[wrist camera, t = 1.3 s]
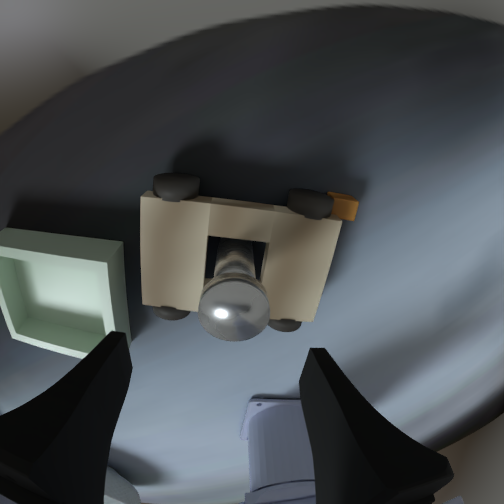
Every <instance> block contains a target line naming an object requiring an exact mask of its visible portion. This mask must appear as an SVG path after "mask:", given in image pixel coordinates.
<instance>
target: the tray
mask: <svg viewBox="0 0 504 504" xmlns="http://www.w3.org/2000/svg"><path fill="white" fill-rule="evenodd" d="M0 306H1V309H2V312H3V314H4V317H5V320H6V323H7V326H8V328H9V331H10V333H11V336H12V338H14V339H17V340H19V341H22V342H26V343H29V344H32V345H35V346H38V347H41V348H45V349H48V350H52V351H55V352H59V353H62V354H66V355H70V356H74V357H78V358H82V359H83V358H84V357H85V356H86V355H88V354H89V353H90V352H91V351H92V350H93V349H94V348H95V347H96V346H97V345H98V343H99V342H100V341H101V340H102V339H103V338H104V337H105V336H106V335H107V334H108V333H109V332H111V331H118V332H124V333H126V337H127V342H128V348H130V345H131V342H132V340H131V332H130V324H129V315H128V305H127V294H126V282H125V267H124V247H123V242H122V241H114V240H105V239H97V238H89V237H80V236H72V235H64V234H56V233H47V232H39V231H31V230H23V229H15V228H7V227H6V228H4V229H3V230H2V231H0Z"/></svg>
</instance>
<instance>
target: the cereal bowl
mask: <svg viewBox="0 0 504 504" xmlns="http://www.w3.org/2000/svg"><path fill="white" fill-rule="evenodd" d="M104 504H141V500H140V496H139V494H138V492H137V490H136V489H135V487H134V486H133V485H132V484H131V483H130V482H128V480H126V479H125V478H123V477H122V476H120V475H119V474H118V473H117V472H116V471H115V470H114V469H112V468H110V467H109V466H107V471H106V479H105V491H104Z"/></svg>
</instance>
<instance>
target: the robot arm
mask: <svg viewBox="0 0 504 504" xmlns="http://www.w3.org/2000/svg"><path fill="white" fill-rule="evenodd" d="M132 368H133V367H132V362H131V358H130V353H129V348H128V342H127V337H126V333H124V332H118V331H111V332H109V333H108V334H107V335H106V336H105V337H104V338H103V339H102V340H101V341H100V342H99V343H98V345H97V346H96V347H95V348H94V349H93V350H92V351H91V352H90V353H89V354H88V355H86V356H85V357H84V358H83V359H82V360H81V361H80V362H79V363H78V364H77V365H76V366H75V367H74V368H73V369H72V370H70V371H69V372H68V373H67V374H66V375H65V376H64V377H63V378H61V379H60V380H59V381H58V382H56V383H55V384H54V385H53V386H51V387H50V388H49V389H47V390H46V391H44V392H43V393H41V394H40V395H38V396H37V397H35V398H33V399H32V400H30V401H29V402H27V403H25V404H23V405H22V406H20V407H18V408H16V409H14V410H12V411H10V412H7V413H5V414H3V415H1V416H0V504H104V491H105V479H106V471H107V464H108V457H109V451H110V446H111V441H112V437H113V433H114V430H115V427H116V424H117V421H118V418H119V415H120V412H121V409H122V406H123V403H124V400H125V397H126V394H127V391H128V387H129V383H130V378H131V373H132ZM299 387H300V398H301V400H278V399H251V400H249V402H248V406H247V410H246V414H245V418H244V422H243V426H242V430H241V434H240V439H241V440H248V449H249V475H250V493H245V502H240V503H239V504H432V502H434V501H435V498H434V495H433V494H434V493H435V492H437V491H438V490H439V489H441V488H442V487H443V486H445V485H446V484H448V483H449V482H450V481H451V480H452V479H453V477H454V473H453V471H452V468H451V466H450V463H449V461H448V459H447V457H445V456H443V455H441V454H439V453H437V452H435V451H433V450H431V449H429V448H427V447H425V446H423V445H422V444H420V443H418V442H417V441H415V440H413V439H412V438H410V437H409V436H407V435H406V434H405V433H403V432H402V431H401V430H399V429H398V428H397V427H395V426H394V425H393V424H391V423H390V422H389V421H388V420H387V419H385V418H384V417H383V416H382V415H381V414H380V413H379V412H378V411H377V410H376V409H375V408H374V407H373V406H372V405H371V404H370V403H369V402H368V401H367V400H366V399H365V398H364V397H363V396H362V395H361V394H360V392H359V391H358V390H357V389H356V388H355V387H354V385H353V384H352V383H351V382H350V380H349V379H348V378H347V377H346V375H345V374H344V373H343V372H342V370H341V369H340V368H339V366H338V365H337V364H336V362H335V361H334V360H333V358H332V357H331V356H330V354H329V353H328V352H327V350H326V349H325V348H310V350H309V353H308V356H307V359H306V362H305V365H304V368H303V371H302V374H301V377H300V380H299ZM442 504H464V503H463V500H462V497H461V496H458V497H456V498H454V499H452V500H449V501H447V502H445V503H442Z"/></svg>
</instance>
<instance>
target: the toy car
mask: <svg viewBox="0 0 504 504" xmlns="http://www.w3.org/2000/svg"><path fill="white" fill-rule="evenodd" d="M199 186H200V178H198V177H196V176H194V175H189V174H183V173H163V174H158V175H155V176H154V180H153V191H146V192H145V193H144V194H143V195H142V196H141V209H140V252H141V283H142V302H143V305H150V306H153V311H154V313H155V314H156V315H157V316H158V317H160V318H162V319H165V320H179V319H183V318H185V317H186V316H188V315H189V313H190V311H195V312H198V307H199V301H200V296H201V292H202V290H203V288H204V286H205V285H206V284H207V283H208V282H209V281H210V280H211V279H210V278H205V271H206V259H207V248H208V237H209V236H218V237H226V238H235V239H243V240H252V241H260V242H266V247H265V253H264V258H263V264H262V269H261V275H260V280H259V282H260V283H261V284H262V285H263V286H264V287H265V289H266V291H267V294H268V299H269V306H270V319H269V322H268V325H269V326H270V327H271V328H273V329H275V330H278V331H282V332H292V331H295V330H297V329H298V328H299V327H300V326H301V323H302V321H304V322H313V321H314V317H315V314H316V311H317V308H318V305H319V302H320V298H321V295H322V292H323V289H324V285H325V282H326V279H327V275H328V272H329V268H330V265H331V261H332V258H333V254H334V251H335V247H336V243H337V240H338V236H339V232H340V228H341V225H342V221H341V219H345V220H351V221H354V220H355V216H356V212H357V208H358V204H359V202H358V201H357V200H356V199H355V198H353V197H352V196H350V195H345V194H340V193H334V192H329V191H328V192H327V195H326V194H323V193H320V192H317V191H313V190H307V189H291V190H290V191H289V196H288V202H287V207H284V206H277V205H270V204H263V203H255V202H247V201H239V200H231V199H223V198H214V197H205V196H199Z"/></svg>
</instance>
